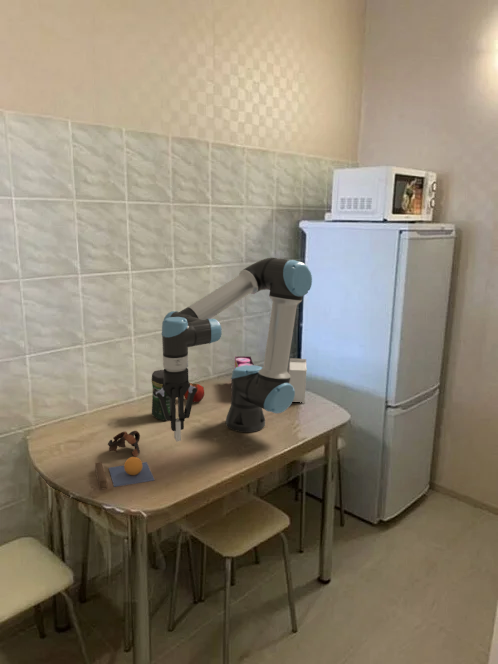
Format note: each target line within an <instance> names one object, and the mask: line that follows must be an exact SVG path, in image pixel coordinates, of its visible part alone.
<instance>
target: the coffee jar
mask: <svg viewBox="0 0 498 664" xmlns="http://www.w3.org/2000/svg"><path fill="white" fill-rule="evenodd" d="M163 370H164V369H158V370H154V371H153V372H152V373H151V387H152V401H151V416H152V417H154V418H156V419H157V420H159V421H167V420H166V419H165V417H164V413H163V410H162V407H161V403H160V400H159V398H158V397H157V395H156V394H155V392H156V391H159V390H161V389H162V386H163V383H164V375H163ZM163 398H164V400H165V403H166V406H167V410H168V413H169V416H170V398H169V396H168V395H167V394H166V392H164V397H163Z"/></svg>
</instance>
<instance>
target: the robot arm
mask: <svg viewBox="0 0 498 664" xmlns="http://www.w3.org/2000/svg"><path fill="white" fill-rule="evenodd" d="M312 283H313V275H312V271H311V270H310V269H309V267H308V265H307V264H305V262H302V261H299V260H295V259H288V258H287V259H285V258H278V257H267V258H264V259H261V260H258V261H256V262H254V263H253V264H250V265H248V266H246V267H245V268H243V269H242V270H240V271H239V274H238V275H237V276H235V277H234V278H233V279H231V280H229V281H227V282H225V283H224V284H223V285H221V286H220V287H218V288H216V289H215V290H213V291H211V292H210V293H208V294H207V295H205V296H203V297H202V298H199V300H196V301H195V302H194V303H193V302H192V304H190V305H189V306H187V307H186V308H184V309H182V310H179V311H177V310H176V311H170V312H168V313H167V314H165V316H164V318H163V320H162V323H161V337H162V338H161V340H162V343H161V344H162V367H163V369H162V370H163V375H164V383H163V386H162V389H161V390H159V391H156V392H155V394H156V395H157V397H158V398H159V400H160V403H161V407H162V410H163V413H164V417H165V419H166V420H165V421H167V422H170V429H171V431H172V432H173V438H174V439H175V442H181V441H182V430H184V428H185V423H184V422H185V419H190V416H191V412H192V407H193V403H194V402H193V399H194V395H195V394H196V392H197V389H196V388H195V386H191V385H190V383H191V382H189V368H188V367H189V357H188V356H189V348H192V347H197V346H201V345H207V344H208V345H210V344H212V343H216V342H218V341H220V339H221V337H222V335H223V334H222V331H223V330H222V325H221V324H220V322H219V321H218V320H217V319H216V318H214V317H215V316H217V315H219V314H220V313H222V312H223V311H225V310H226V309H229V308H230V307H231V306H233V305H234V304H236V303H238V302H239V301H241V300H242V299H243V298H246V297H247V296H248V295H250V294H251V295H255V294H257V293H258V292H260V291H265V290H268V291H269V294H268V295H269V298H270V299H271V301H272V302H271V303H272V304H271V311H270V319H269V326H268V332H267V338H266V339H267V340H266V347H265V354H264V359H263V366H260V365H248V366H240V367H236V368H235V367H234V368H233V370H232V372H231V374H232V375H231V378H230V382H231V386H230V387H231V388H230V389H231V390H230V392H231V393H230V394H231V395H230V400H231V402H230V406H229V409H228V412H227V415H226V418H225V426H226V427H227V428H228V429H230V430H233V431H235V432H240V433H241V432H242V433H252V432H258V431H261V430H263V429H264V428H265V427H266V417H265V414H264V411H263V409H264V410H265V411H267V412H271V413H273V414H281V413H283V412H285V411H287V410H288V408H290V406H292V404H293V403H292V402H293V400H294V396H295V390H294V388H293V386H292V385H291V384H289V383H290V375H289V371H288V369H289V362H290V355H291V354H290V353H291V347H292V341H293V340H292V339H293V335H294V328H295V327H294V326H295V321H296V313H297V309H298V308H297V307H298V305H299V304H300V303H302V301H303V297H304V296H306V295H307V294H308V293H309V291H310V290H311V289H312ZM187 390H188V391H189V393H188V397H187V400H186V403H185V405H184V400H185V397H184V395H185V393H186V392H187ZM164 392H166V394H167V395H168V396H169V398H170V416H169V413H168V410H167V406H166V403H165V400H164V398H163V397H164ZM176 401H177V411H176ZM177 415H178V416H177ZM177 417H178V418H177ZM264 426H265V427H264ZM263 427H264V428H263ZM262 428H263V429H262ZM260 429H261V430H260Z"/></svg>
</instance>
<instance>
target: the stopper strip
mask: <svg viewBox="0 0 498 664" xmlns="http://www.w3.org/2000/svg"><path fill="white" fill-rule="evenodd" d="M94 467H95V469H94V470H95V474H96V479H97V481H98V482H97V484H98V486H99V490H102V489H103V490H104V489H107V488H108V480H107V476H106V472H105V469H104V465H103V462H102V461H99V462H95V463H94Z"/></svg>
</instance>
